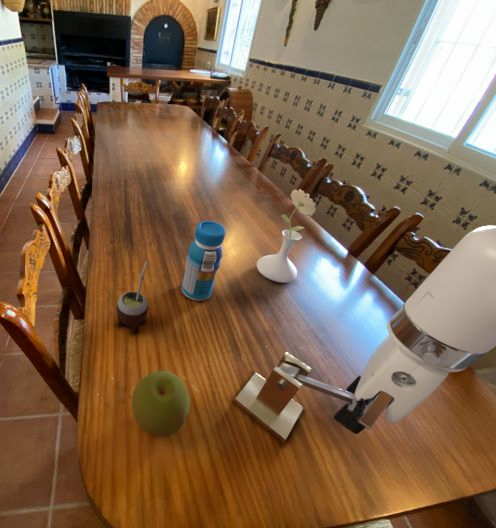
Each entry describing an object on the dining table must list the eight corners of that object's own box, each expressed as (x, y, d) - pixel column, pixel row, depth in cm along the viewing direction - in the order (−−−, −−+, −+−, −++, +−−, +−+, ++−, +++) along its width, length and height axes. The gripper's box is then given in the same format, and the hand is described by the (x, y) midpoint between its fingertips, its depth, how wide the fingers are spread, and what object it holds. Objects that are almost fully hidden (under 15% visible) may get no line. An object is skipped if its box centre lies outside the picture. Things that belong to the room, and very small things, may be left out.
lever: (371, 398, 44) (371, 385, 43) (361, 422, 41) (362, 410, 40) (286, 368, 52) (285, 357, 52) (274, 386, 50) (272, 375, 49)
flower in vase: (301, 286, 84) (344, 208, 68) (262, 286, 83) (297, 206, 67) (282, 258, 94) (316, 184, 78) (248, 257, 93) (275, 182, 78)
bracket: (301, 410, 56) (332, 374, 48) (283, 442, 52) (314, 408, 43) (253, 375, 61) (274, 336, 53) (233, 401, 57) (253, 364, 49)
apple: (160, 380, 59) (166, 347, 52) (196, 419, 54) (208, 389, 47) (119, 412, 54) (120, 380, 47) (155, 459, 48) (162, 431, 41)
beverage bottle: (174, 292, 79) (186, 228, 66) (189, 276, 85) (203, 214, 72) (202, 307, 75) (220, 242, 63) (216, 289, 81) (235, 226, 68)
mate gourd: (119, 337, 67) (120, 289, 57) (114, 311, 72) (113, 263, 63) (151, 332, 68) (157, 284, 59) (143, 307, 74) (147, 260, 65)
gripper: (473, 414, 26) (362, 480, 37) (481, 313, 36) (392, 390, 47) (376, 358, 29) (303, 433, 41) (408, 281, 39) (342, 359, 51)
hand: (351, 409), depth 44 cm, fingers closed on lever, 5 cm apart
